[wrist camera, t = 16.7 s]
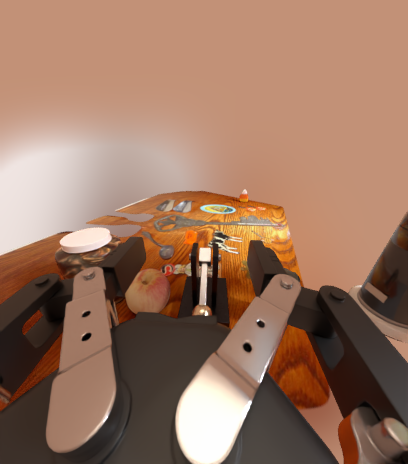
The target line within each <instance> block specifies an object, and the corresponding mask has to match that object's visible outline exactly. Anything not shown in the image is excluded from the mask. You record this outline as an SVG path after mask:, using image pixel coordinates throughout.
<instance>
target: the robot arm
mask: <svg viewBox="0 0 408 464" xmlns="http://www.w3.org/2000/svg"><path fill="white" fill-rule="evenodd" d="M145 260H146V252H145V247H144V242H143V238H142V237H130V238H129V239H128V240H127V241H126V242H125V243H123V244H121V245H119V246H117V247H116V248H115V249H114V250H113V252H111V253H110V254H109V255H108V256H107V257H106V258H105V259H104V260H103V261H102V262H101V263H100V264H99V265H98V266H97V267H90V268H87V269H85V270H83V271H81V272H79V273H78V274H77V275H76V276H75V277H74V278H71V279H65V280H61V279H60V277H59V275H58V274H54V273H52V274H46V275H43V276H40V277H38V278H36V279H34V280H32V281H31V282H29V283H28V284H27V285H25V286H24V287H23V288H22V289H20V290H19V291H18V292H16V293H15V294H14V295H12V296H11V297H10V298H8V299H7V300H6V301H4V302H3V303H2V304H1V305H0V464H339V463H338V461H337V460H336V458H335V457H334V455H333V454H332V452H331V451H330V449H329V448H328V447H327V446H326V444H325V443H324V442H323V441H322V439H321V438H320V437H319V436H318V434H317V433H316V432H315V431H314V429H313V428H312V427H311V426H310V424H309V423H308V422H307V421H306V419H305V418H304V417H303V416H302V415H301V413H300V412H299V411H298V409H297V408H296V407H295V406H294V404H293V403H292V402H291V401H290V399H289V398H288V397H287V396H286V394H285V393H284V392H283V391H282V389H281V388H280V387H279V386H278V384H277V383H276V382H275V381H274V379H273V378H272V377H271V376H270V374H269V373H268V372H269V370H270V367H271V365H272V362H273V360H274V357H275V355H276V352H277V350H278V347H279V345H280V342H281V340H282V338H283V335H284V333H285V330H286V328H287V326H288V325H291V326H294V327H297V328H300V329H302V330H305V331H306V333H307V335H308V338H309V340H310V342H311V345H312V347H313V349H314V351H315V354H316V356H317V358H318V361H319V363H320V365H321V368H322V370H323V372H324V374H325V377H326V379H327V381H328V384H329V386H330V388H331V391H332V393H333V395H334V397H335V400H336V402H337V404H338V406H339V409H340V411H341V414H342V416H343V418H344V419H343V420H342V422H341V423H340V424H339V428H338V436H339V441H340V445H341V448H342V451H343V456H344V464H408V363H407V361H406V360H405V359H404V358H403V357H402V356H401V354H400V353H399V352H398V351H397V350H396V348H395V347H394V346H393V345H392V344H391V343H390V341H389V340H388V339H387V338H386V337H385V335H384V334H383V333H382V332H381V331H380V330H379V328H378V327H377V326H376V325H375V324H374V323H373V321H372V320H371V319H370V318H369V317H368V315H367V314H366V313H365V312H364V311H363V310H362V308H361V307H360V306H359V305H358V304H357V302H356V301H355V300H354V299H353V298H352V297H351V296H350V295H349V294H348V293H346V292H345V291H343V290H341V289H339V288H337V287H334V286H322V287H321V288H320V290H319V292H318V291H315V290H310V289H307V288H304V287H301V285H300V283H299V282H298V281H297V280H296V279H295V278H293V277H291V276H289V275H287V273H286V271H285V270H284V268H283V266H282V264H281V263H280V262H279V259H278V258H277V256H276V254H275V252H274V251H273V250H271V249H270V248H267V247H265V246H264V244H263V242H262V241H260V240H251V241H250V244H249V251H248V257H247V265H248V269H249V273H250V276H251V280H252V284H253V287H254V291H255V294H256V297H255V298H254V299H253V301H252V302H251V304H250V305H249V306H248V308H247V309H246V311H245V312H244V314H243V315H242V316H241V318H240V319H239V321H238V322H237V323H236V325H235V326H234V328H233V329H232V330H231V329H230V328H228V327H226V326H225V325H222V324H220V323H217V316H210V315H194V316H188V317H183V318H177V319H176V318H172V317H169V316H166V315H163V314H160V313H155V312H138V313H137V315H136V317H135V318H134V319H131V320H127V321H125V322H122V323H120V324H119V321H118V316H117V311H116V306H115V302H114V298H115V296H124V295H125V293H126V292H127V290H128V288H129V287H130V285H131V284H132V282H133V280H134V279H135V277H136V276H137V274H138V272H139V271H140V269H141V268H142V266H143V264H144V263H145ZM357 298H358V300H359V301H360V303H361V304H362V305H363V306H364V307H365V308H366V309H367V310H368V311H370V312H371V313H372V314H374V315H375V316H377V317H379V318H380V319H382V320H384V321H386V322H388V323H390V324H393V325H395V326H398V327H402V328H406V329H408V212H406V214H405V215H404V217H403V218H402V220H401V222H400V224H399V225H398V227H397V228H396V230H395V232H394V233H393V235H392V237H391V238H390V240H389V242H388V243H387V245H386V247H385V249H384V250H383V252H382V254H381V255H380V257H379V259H378V260H377V262H376V264H375V265H374V267H373V269H372V270H371V272H370V274H369V275H368V277H367V279H366V281H365V282H364V284H363V285H362V287H361V289H359V291H358V293H357ZM38 310H40V312H41V313H42V314H43V316H42V317H41V318H40V319H39V321H38V322H37V323H36V324H35V325H34V326H33V327H32V328H31V329H30V330H29V331H28V332H27V333H26V334H25V335H24V334H23V333H22V328H23V325H24V324H25V322H26V321H27V320H28V319H29V318H30V317H31V316H32V315H33V314H34V313H36V312H37V311H38ZM62 332H63V337H62V346H61V355H60V364H59V368H58V369H57V370H55V371H54V372H53V373H51V374H50V375H48V376H47V377H46V378H44V379H43V380H42V381H40V382H39V383H38V384H36V385H35V386H34V387H32V388H31V389H30V390H28V391H27V392H26V393H24V394H23V395H22V396H20V397H19V398H17V399H16V400H15V401H13V402H12V403H11V404H9V403H10V400H11V397H12V396H13V395H14V393H15V392H16V391H17V389H18V388H19V387H20V386H21V384H22V383H23V382H24V380H25V379H26V378H27V377H28V375H29V374H30V373H31V371H32V370H33V369H34V368H35V366H36V365H37V364H38V362H39V361H40V360H41V359H42V357H43V356H44V355H45V353H46V352H47V351H48V350H49V348H50V347H51V346H52V344H53V343H54V342H55V341H56V339H57V338H58V337H59V335H60V334H61V333H62Z"/></svg>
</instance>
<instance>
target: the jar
mask: <svg viewBox="0 0 408 464" xmlns="http://www.w3.org/2000/svg"><path fill="white" fill-rule="evenodd" d="M60 244H61V247H60V248H59V249H58V250H57V251H56V253H55V260H56V263H57V265H58V267H59V270H60V272H61V274H62V276H63V278H64V280H65V279H71V278H74V277H75V276H76V275H77V274H78V273H79V272H81V271H83V270H85V269H87V268H90V267H97V266H98V265H99V264H100V263H101V262H102V261H103V260H104V259H105V258H106V257H107V256H108V255H109V254H110V253H111V252H113V250H114V249H115V248H116V247H117V246H119V245H121V244H122V242H121V240H120V239H119V238H118V237H117V236H115V235H112V234H110V231H109V230H108V229H105V228H89V229H83V230H79V231H76V232H73V233H71V234H68V235H66V236H65V237H63V238H62V239H61V241H60ZM124 298H125V295H124V296H115V298H114V302H115V304H117V303H118V302H120V301H121V300H122V299H124Z"/></svg>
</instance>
